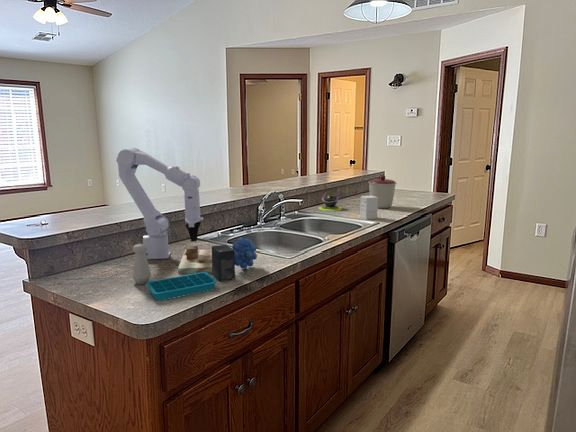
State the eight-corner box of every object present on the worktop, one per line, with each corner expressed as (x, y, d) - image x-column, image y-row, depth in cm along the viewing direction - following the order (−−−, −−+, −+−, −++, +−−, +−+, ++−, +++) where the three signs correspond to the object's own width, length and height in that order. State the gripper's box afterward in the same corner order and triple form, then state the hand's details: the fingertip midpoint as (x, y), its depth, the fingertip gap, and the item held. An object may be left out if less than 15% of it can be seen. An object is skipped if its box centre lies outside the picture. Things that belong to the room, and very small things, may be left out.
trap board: (178, 273, 150) (177, 268, 149) (185, 254, 172) (184, 250, 172) (212, 272, 151) (212, 267, 151) (215, 253, 174) (214, 249, 173)
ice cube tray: (145, 291, 135) (145, 282, 134) (206, 279, 145) (205, 271, 145) (154, 303, 125) (154, 294, 125) (218, 290, 135) (218, 282, 135)
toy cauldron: (314, 209, 270) (315, 192, 267) (324, 205, 282) (324, 189, 280) (336, 211, 263) (337, 194, 260) (345, 207, 275) (346, 191, 273)
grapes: (239, 275, 148) (238, 242, 146) (227, 270, 153) (226, 238, 151) (264, 268, 156) (263, 236, 154) (252, 263, 161) (252, 233, 159)
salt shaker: (133, 286, 138) (130, 248, 135) (132, 280, 143) (129, 243, 140) (152, 283, 140) (149, 246, 138) (150, 278, 145) (147, 241, 143)
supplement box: (370, 216, 248) (371, 195, 246) (377, 219, 241) (378, 197, 239) (359, 217, 246) (360, 195, 243) (365, 219, 239) (366, 197, 236)
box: (235, 279, 145) (234, 249, 143) (219, 281, 142) (218, 251, 140) (227, 272, 152) (226, 243, 150) (212, 274, 149) (211, 246, 147)
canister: (363, 204, 285) (365, 173, 281) (389, 204, 287) (391, 173, 283) (371, 210, 267) (373, 176, 263) (399, 209, 269) (401, 176, 265)
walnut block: (186, 259, 160) (186, 249, 159) (187, 256, 163) (187, 246, 163) (197, 259, 160) (197, 248, 159) (198, 255, 164) (197, 246, 163)
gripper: (201, 210, 159) (203, 245, 162) (203, 203, 173) (205, 235, 176) (182, 211, 158) (184, 246, 161) (186, 204, 172) (187, 236, 175)
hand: (193, 240), depth 168 cm, fingers closed
